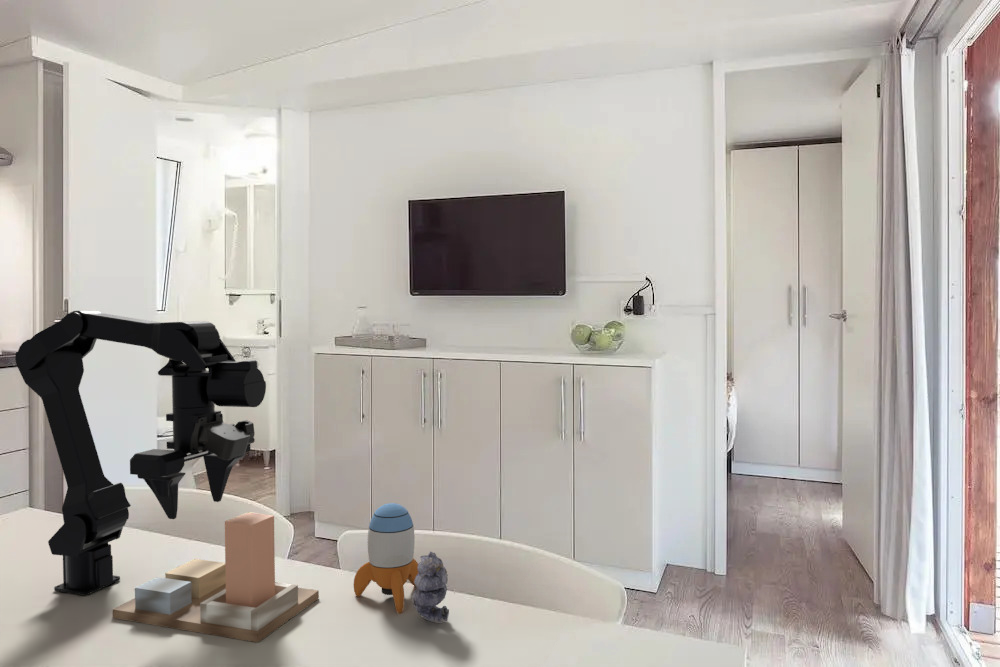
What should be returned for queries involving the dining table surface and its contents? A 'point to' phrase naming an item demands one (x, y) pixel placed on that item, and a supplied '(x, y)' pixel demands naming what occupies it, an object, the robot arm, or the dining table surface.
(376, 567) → the toy rocket
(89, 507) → the robot arm
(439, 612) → the seashell
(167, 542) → the dining table surface
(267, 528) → the post
